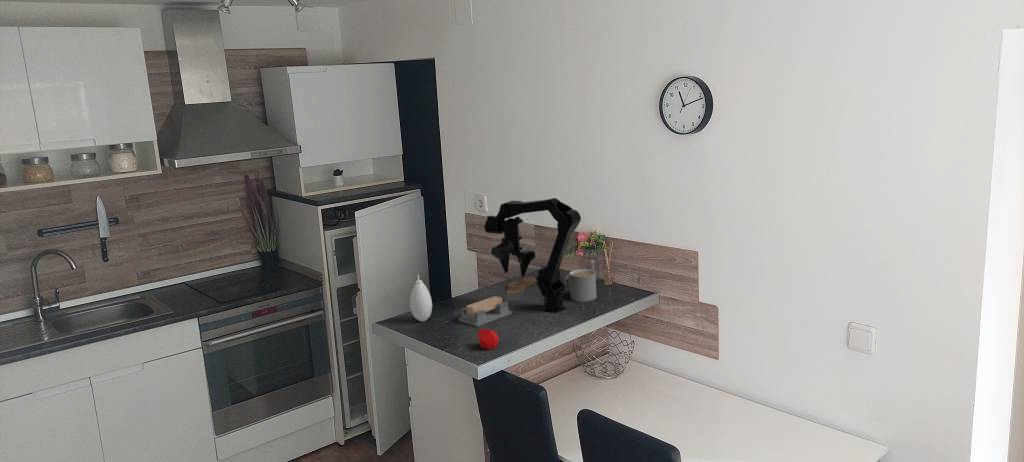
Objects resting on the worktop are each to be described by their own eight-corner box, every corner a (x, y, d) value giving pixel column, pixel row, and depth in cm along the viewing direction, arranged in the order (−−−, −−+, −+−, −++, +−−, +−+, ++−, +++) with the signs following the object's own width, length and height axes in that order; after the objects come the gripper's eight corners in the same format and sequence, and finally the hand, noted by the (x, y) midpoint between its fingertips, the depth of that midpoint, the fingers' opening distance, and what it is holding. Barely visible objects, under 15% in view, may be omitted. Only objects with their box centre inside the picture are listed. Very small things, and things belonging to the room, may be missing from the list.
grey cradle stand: (511, 313, 272) (510, 302, 271) (477, 326, 260) (475, 314, 259) (493, 308, 279) (492, 297, 278) (459, 321, 268) (458, 309, 267)
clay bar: (502, 305, 272) (502, 297, 271) (473, 315, 263) (473, 307, 262) (495, 303, 275) (494, 296, 274) (466, 313, 266) (466, 305, 265)
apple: (503, 332, 237) (489, 319, 242) (486, 341, 234) (472, 327, 239) (503, 347, 241) (490, 334, 246) (486, 357, 238) (473, 343, 243)
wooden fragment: (519, 295, 294) (519, 292, 294) (495, 293, 299) (495, 291, 299) (545, 277, 316) (545, 275, 316) (523, 276, 321) (522, 274, 321)
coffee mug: (601, 297, 283) (600, 272, 281) (582, 303, 277) (581, 278, 275) (578, 290, 294) (577, 266, 291) (559, 296, 288) (558, 272, 286)
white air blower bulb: (427, 324, 266) (422, 277, 262) (408, 323, 269) (403, 276, 265) (436, 317, 273) (432, 271, 270) (418, 316, 276) (413, 270, 272)
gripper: (479, 236, 277) (482, 276, 280) (513, 241, 264) (516, 283, 267) (500, 230, 284) (503, 269, 288) (534, 235, 271) (537, 276, 274)
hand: (514, 274), depth 279 cm, fingers open, 9 cm apart
